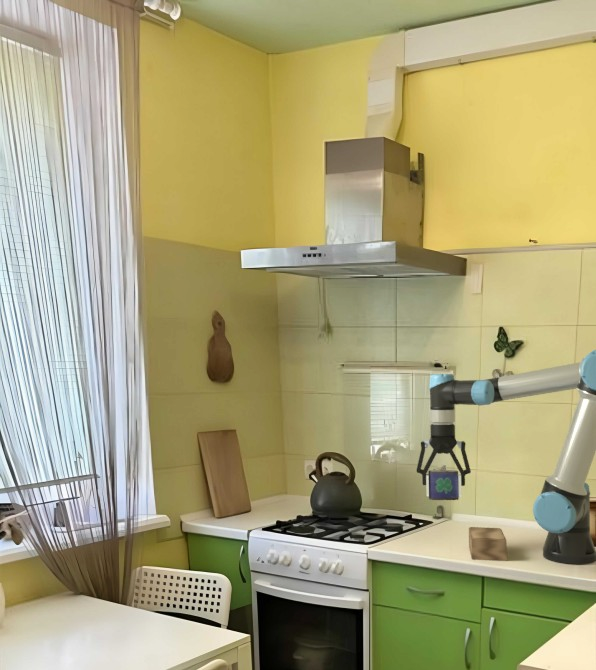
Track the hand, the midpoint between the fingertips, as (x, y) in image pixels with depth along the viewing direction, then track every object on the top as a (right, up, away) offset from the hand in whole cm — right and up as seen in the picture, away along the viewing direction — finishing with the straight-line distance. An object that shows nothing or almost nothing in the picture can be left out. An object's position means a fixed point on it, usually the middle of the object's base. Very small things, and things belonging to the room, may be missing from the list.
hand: (443, 496), depth 234 cm
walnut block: (+13, -17, -3) cm, 21 cm away
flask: (0, -1, 0) cm, 1 cm away
